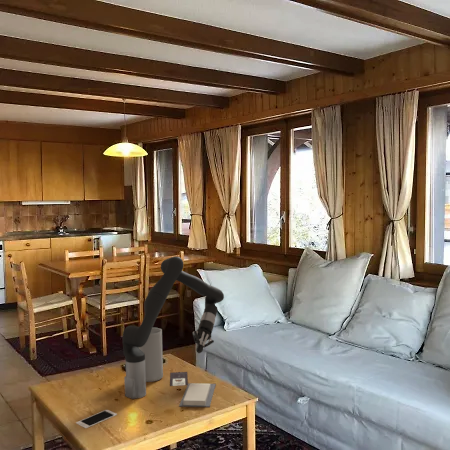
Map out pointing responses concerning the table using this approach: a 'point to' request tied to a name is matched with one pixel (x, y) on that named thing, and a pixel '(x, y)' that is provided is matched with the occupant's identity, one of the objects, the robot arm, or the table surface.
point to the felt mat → (207, 398)
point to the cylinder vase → (153, 355)
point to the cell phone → (96, 418)
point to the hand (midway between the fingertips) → (198, 352)
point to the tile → (197, 394)
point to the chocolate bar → (178, 378)
